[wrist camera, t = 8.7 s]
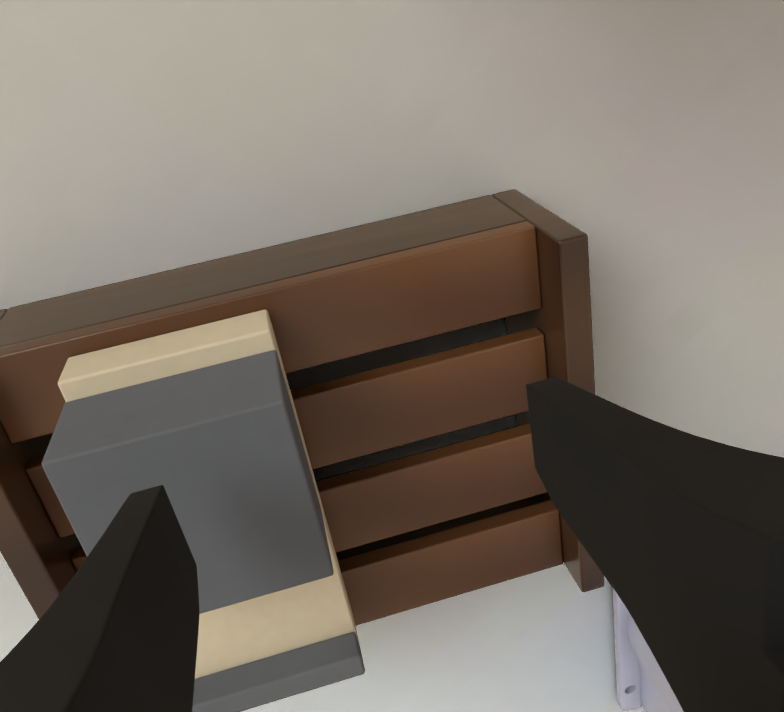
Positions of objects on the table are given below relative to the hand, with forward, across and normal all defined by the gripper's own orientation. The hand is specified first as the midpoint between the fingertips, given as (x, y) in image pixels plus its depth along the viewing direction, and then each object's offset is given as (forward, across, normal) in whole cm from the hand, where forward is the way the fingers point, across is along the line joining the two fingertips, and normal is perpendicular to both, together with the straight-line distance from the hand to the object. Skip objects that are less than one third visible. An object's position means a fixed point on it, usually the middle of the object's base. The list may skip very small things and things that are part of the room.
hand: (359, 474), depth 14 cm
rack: (+9, +1, +4) cm, 10 cm away
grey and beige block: (+6, +4, +4) cm, 8 cm away
